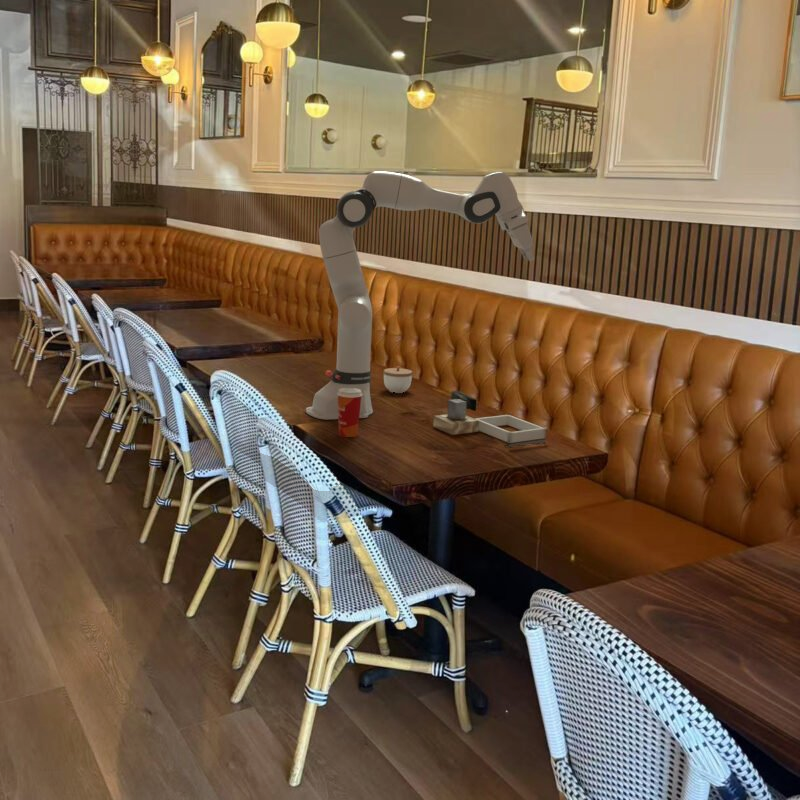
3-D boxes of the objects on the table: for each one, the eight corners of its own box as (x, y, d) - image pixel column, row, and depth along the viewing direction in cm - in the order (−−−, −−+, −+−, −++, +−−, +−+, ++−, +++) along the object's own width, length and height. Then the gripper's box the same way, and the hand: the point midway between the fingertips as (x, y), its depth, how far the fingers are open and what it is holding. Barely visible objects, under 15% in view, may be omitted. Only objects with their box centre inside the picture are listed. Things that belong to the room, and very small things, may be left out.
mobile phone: (478, 398, 301) (454, 388, 313) (471, 399, 299) (447, 388, 311) (477, 412, 302) (452, 401, 314) (470, 413, 300) (445, 402, 313)
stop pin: (454, 431, 269) (456, 402, 267) (446, 428, 272) (448, 400, 270) (464, 429, 271) (466, 401, 269) (457, 426, 274) (458, 398, 272)
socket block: (451, 439, 265) (452, 423, 264) (433, 431, 274) (433, 415, 272) (477, 436, 271) (478, 420, 269) (458, 428, 279) (459, 412, 278)
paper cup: (335, 431, 268) (336, 386, 264) (360, 432, 268) (362, 387, 265) (335, 438, 260) (337, 392, 257) (361, 439, 261) (363, 393, 258)
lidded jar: (399, 395, 319) (400, 370, 317) (376, 390, 325) (377, 366, 323) (417, 391, 327) (418, 367, 325) (394, 386, 333) (395, 362, 331)
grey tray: (508, 447, 260) (510, 433, 259) (472, 432, 274) (473, 418, 273) (544, 442, 267) (545, 428, 266) (507, 428, 282) (508, 414, 281)
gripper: (499, 222, 290) (515, 260, 294) (508, 225, 270) (525, 266, 274) (516, 214, 290) (532, 252, 293) (527, 216, 270) (544, 257, 273)
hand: (529, 259), depth 283 cm, fingers open, 8 cm apart
